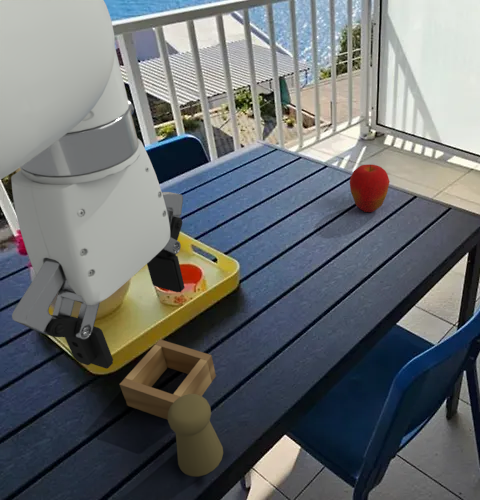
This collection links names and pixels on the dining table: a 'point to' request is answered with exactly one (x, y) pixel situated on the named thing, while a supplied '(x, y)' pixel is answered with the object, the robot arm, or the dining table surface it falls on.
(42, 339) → the dining table surface
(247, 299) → the dining table surface
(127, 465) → the dining table surface
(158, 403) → the frame
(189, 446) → the olive rounded figure
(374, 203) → the apple
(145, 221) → the robot arm
